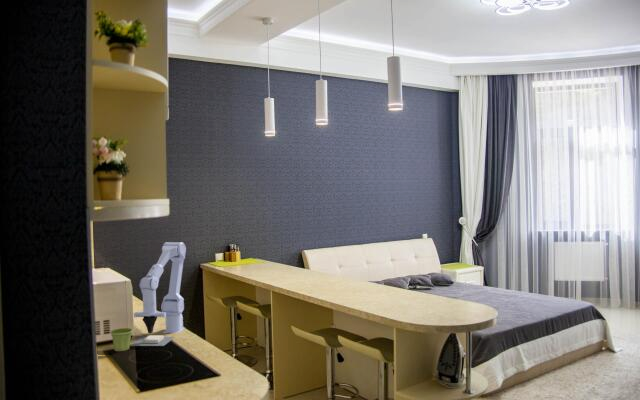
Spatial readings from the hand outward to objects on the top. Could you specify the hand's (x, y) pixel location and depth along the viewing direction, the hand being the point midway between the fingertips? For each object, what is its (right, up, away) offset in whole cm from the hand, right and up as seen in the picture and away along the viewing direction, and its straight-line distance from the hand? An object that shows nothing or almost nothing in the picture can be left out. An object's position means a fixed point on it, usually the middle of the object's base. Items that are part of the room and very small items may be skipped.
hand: (150, 332), depth 250 cm
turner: (-6, -5, +9) cm, 12 cm away
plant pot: (-9, -5, -11) cm, 15 cm away
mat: (+1, -5, 0) cm, 5 cm away
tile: (-2, -3, 0) cm, 4 cm away
